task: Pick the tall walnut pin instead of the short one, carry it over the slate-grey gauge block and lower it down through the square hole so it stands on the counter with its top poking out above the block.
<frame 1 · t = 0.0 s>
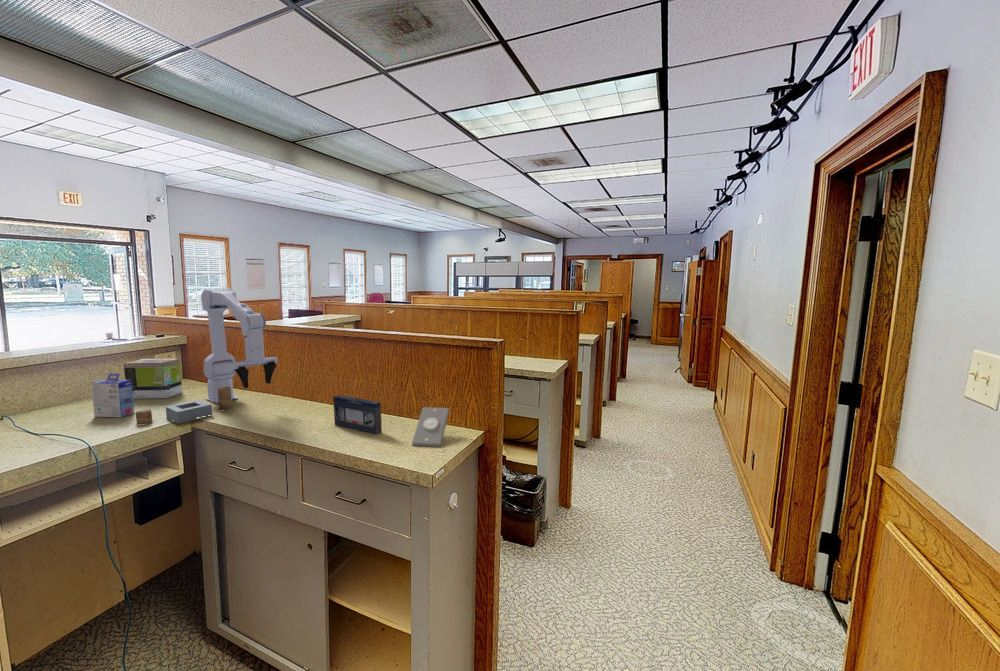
hand: (257, 385, 149), 10 cm above the worktop, tool pointing down, fingers open, 7 cm apart
light switch: (431, 438, 128), on the worktop
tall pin: (225, 409, 154), on the worktop
vhs cassette tape: (357, 429, 135), on the worktop
gauge block: (189, 416, 145), on the worktop
ink cartridge box: (115, 415, 146), on the worktop
short pin: (144, 422, 139), on the worktop
tea box: (155, 396, 170), on the worktop
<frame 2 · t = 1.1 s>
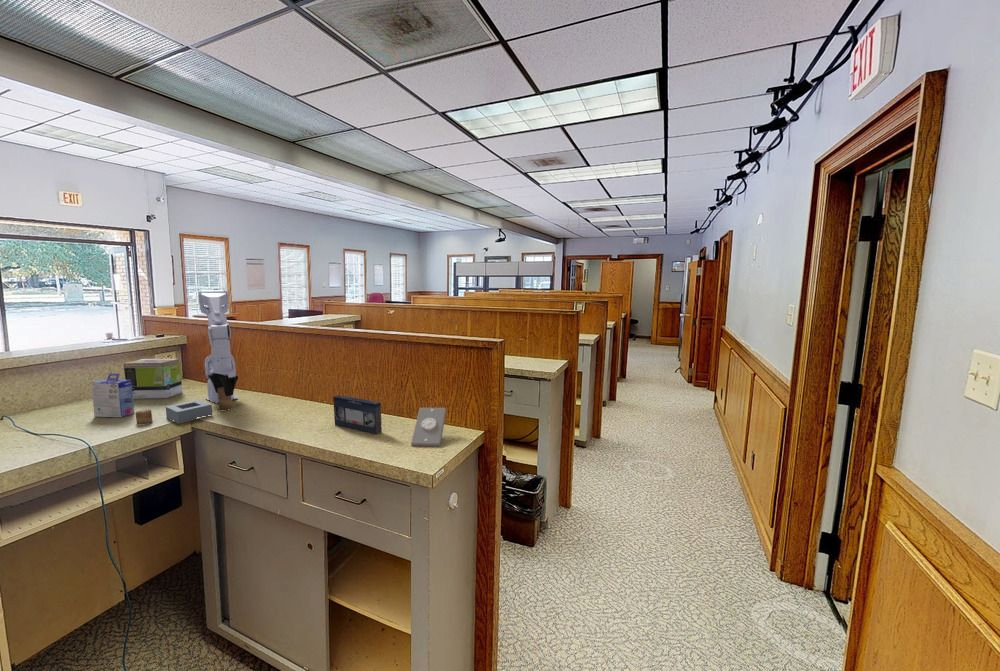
hand: (224, 394, 153), 6 cm above the worktop, tool pointing down, fingers open, 7 cm apart
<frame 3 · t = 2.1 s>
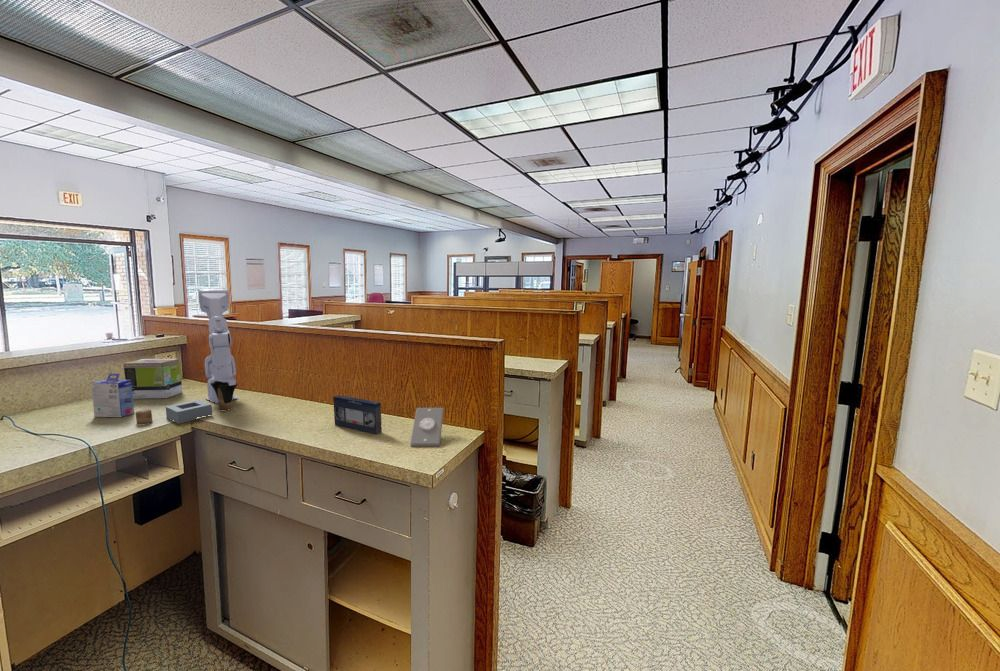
hand: (225, 401, 153), 3 cm above the worktop, tool pointing down, fingers closed on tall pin, 4 cm apart
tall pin: (225, 409, 154), on the worktop, touching gripper
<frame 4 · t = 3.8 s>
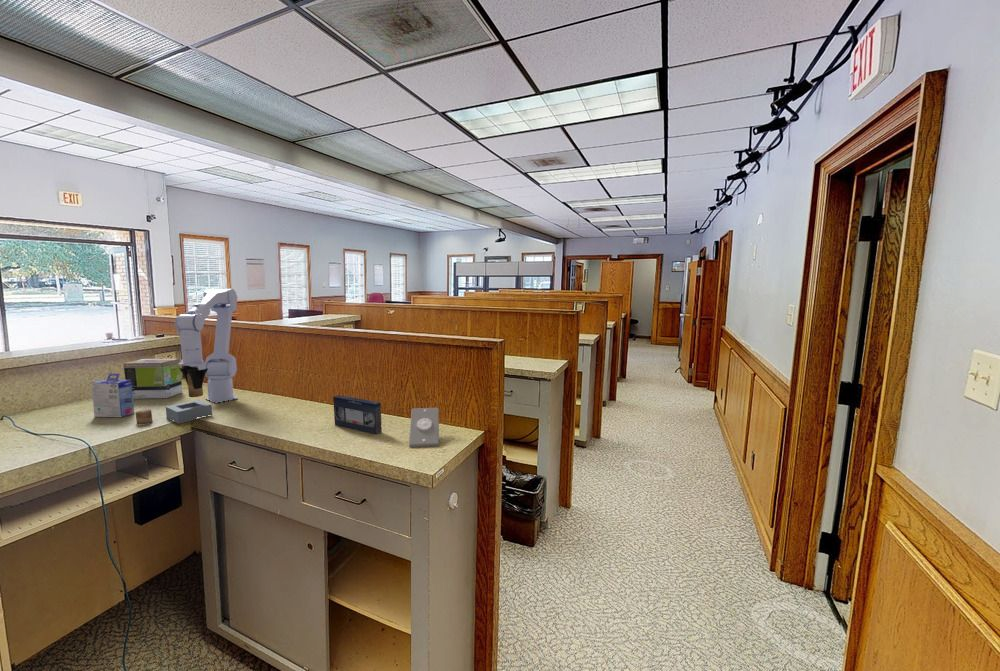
hand: (195, 387, 145), 10 cm above the worktop, tool pointing down, fingers closed on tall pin, 4 cm apart
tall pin: (196, 395, 146), point 7 cm above the worktop, touching gripper
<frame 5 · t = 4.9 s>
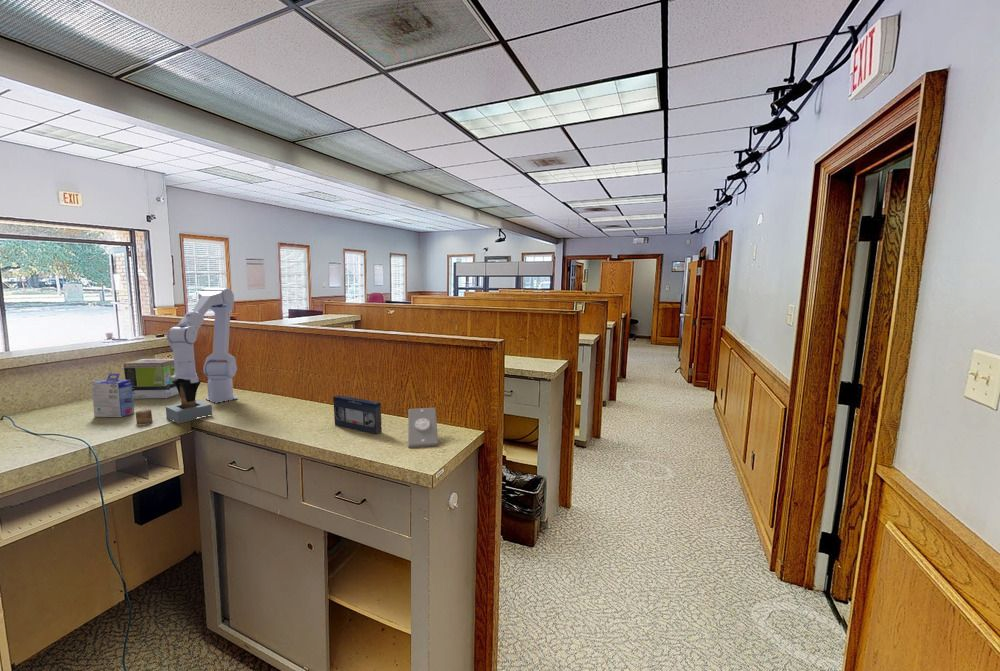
hand: (188, 400, 144), 6 cm above the worktop, tool pointing down, fingers closed on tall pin, 4 cm apart
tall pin: (189, 408, 145), point 3 cm above the worktop, touching gripper
when the fingers open (5 cm above the worktop, at t = 5.6 s): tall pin drops 2 cm, resting in gauge block.
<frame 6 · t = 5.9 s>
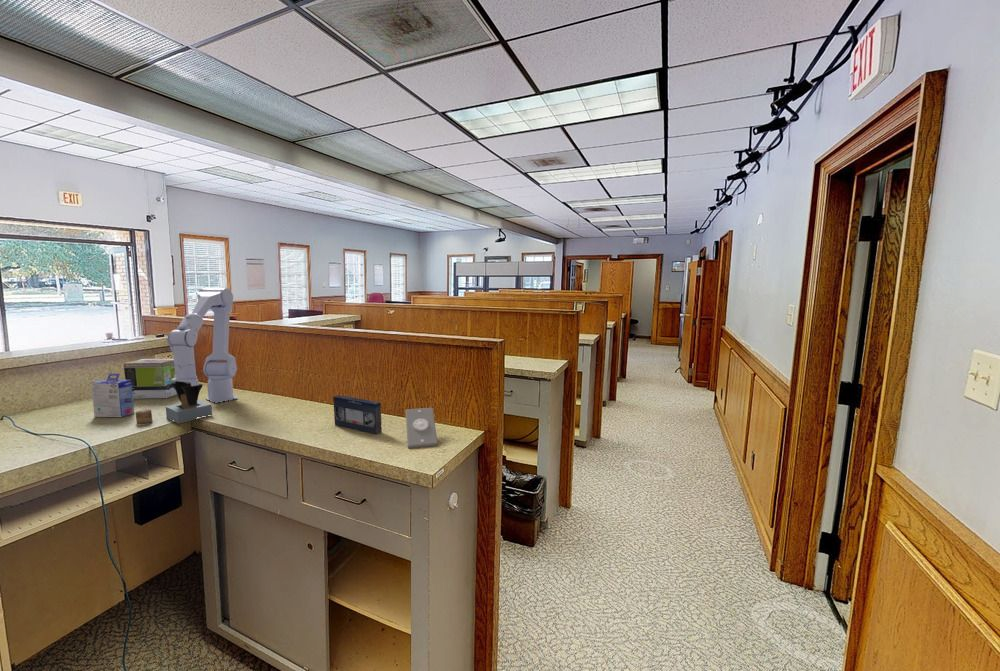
hand: (188, 403, 144), 5 cm above the worktop, tool pointing down, fingers open, 7 cm apart
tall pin: (189, 416, 145), resting in gauge block
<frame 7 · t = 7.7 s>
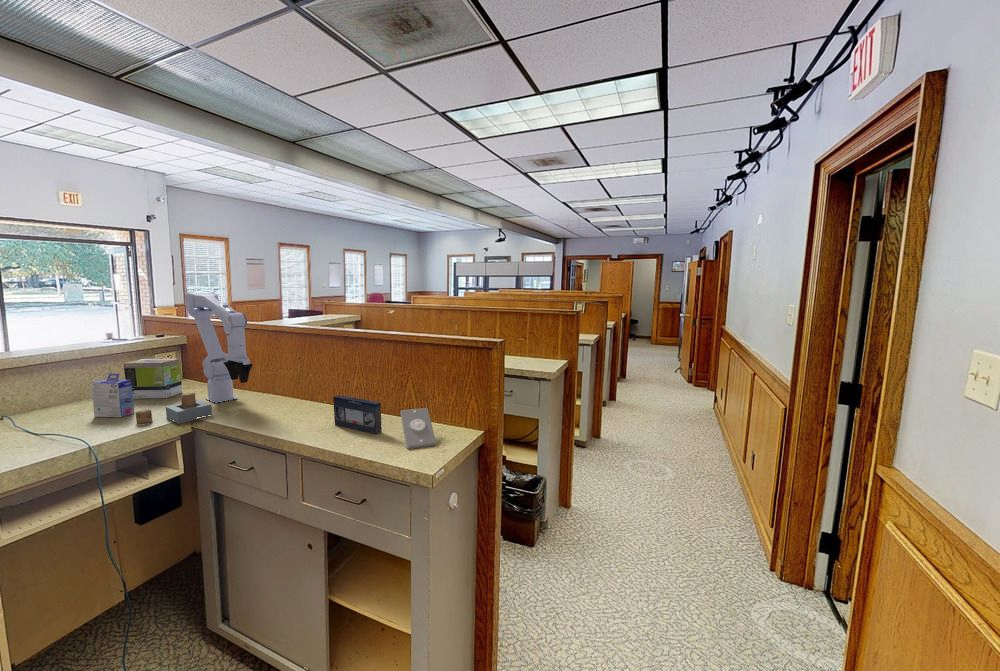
hand: (239, 381, 157), 10 cm above the worktop, tool pointing down, fingers open, 7 cm apart
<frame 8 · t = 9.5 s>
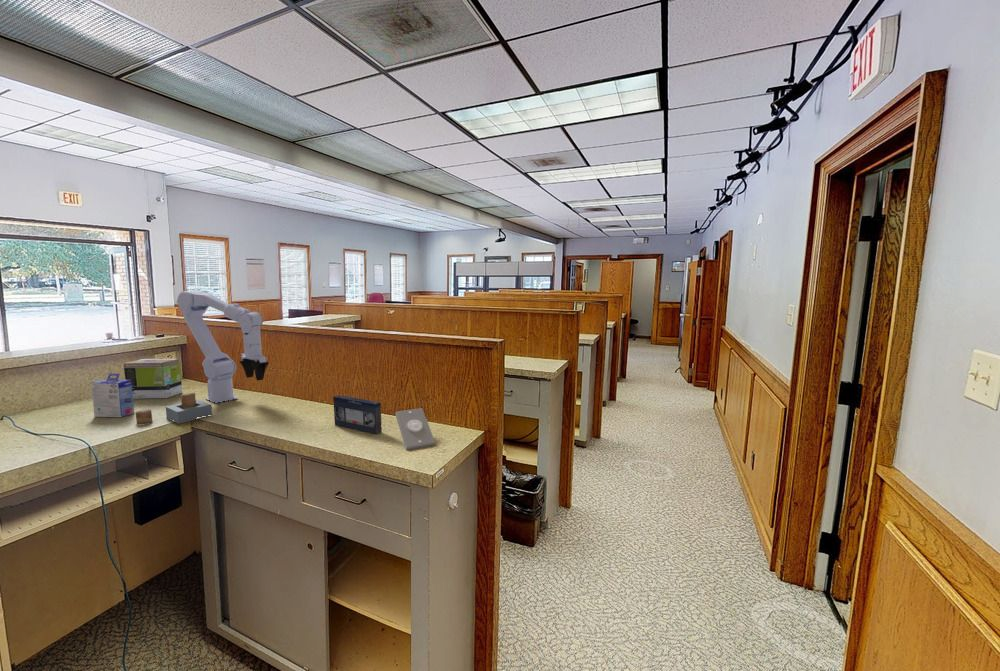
hand: (255, 378, 161), 9 cm above the worktop, tool pointing down, fingers open, 7 cm apart
at the end: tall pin 0.1 cm off-centre on the gauge block, point 0.0 cm above the gauge block's base; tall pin tilted 0°; short pin moved 0.1 cm from its start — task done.
